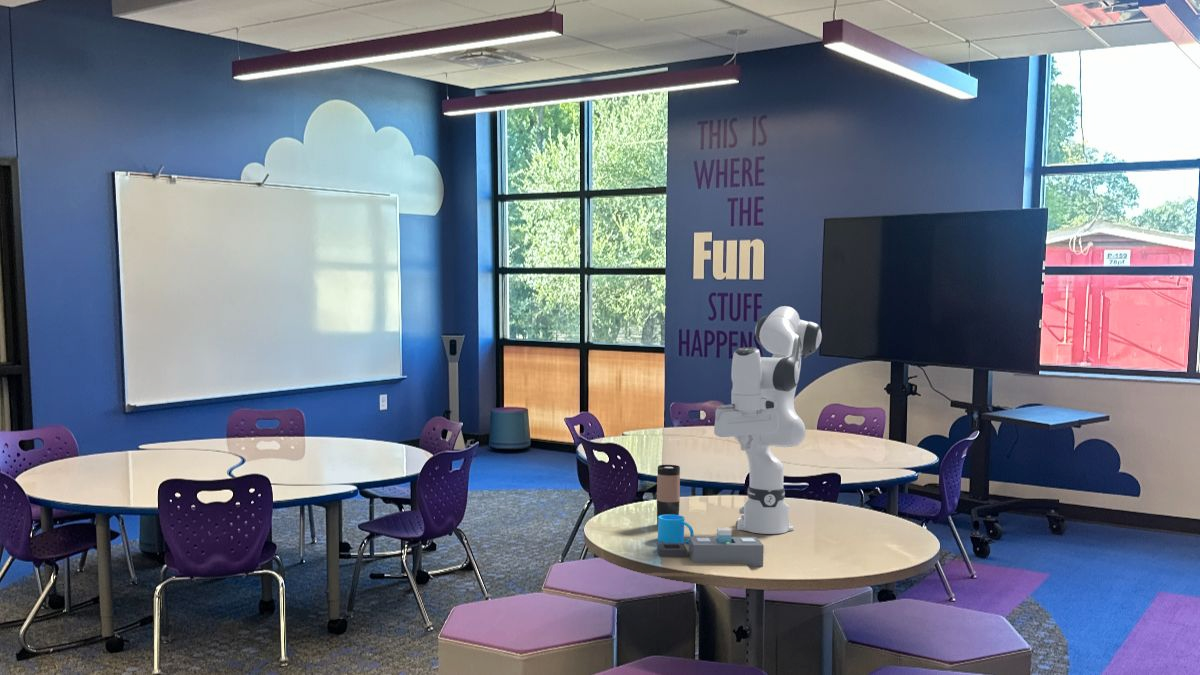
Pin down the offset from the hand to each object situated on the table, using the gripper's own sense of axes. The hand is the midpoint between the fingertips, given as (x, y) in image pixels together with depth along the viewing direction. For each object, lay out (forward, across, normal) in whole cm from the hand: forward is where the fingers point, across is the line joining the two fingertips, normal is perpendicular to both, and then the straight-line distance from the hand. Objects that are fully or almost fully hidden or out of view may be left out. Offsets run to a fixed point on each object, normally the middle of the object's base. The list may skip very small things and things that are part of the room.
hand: (746, 449), depth 284 cm
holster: (+31, -21, +7) cm, 38 cm away
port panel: (+31, -9, -3) cm, 33 cm away
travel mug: (+33, -4, +43) cm, 54 cm away
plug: (+30, -9, -3) cm, 31 cm away
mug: (+32, -13, +20) cm, 40 cm away
